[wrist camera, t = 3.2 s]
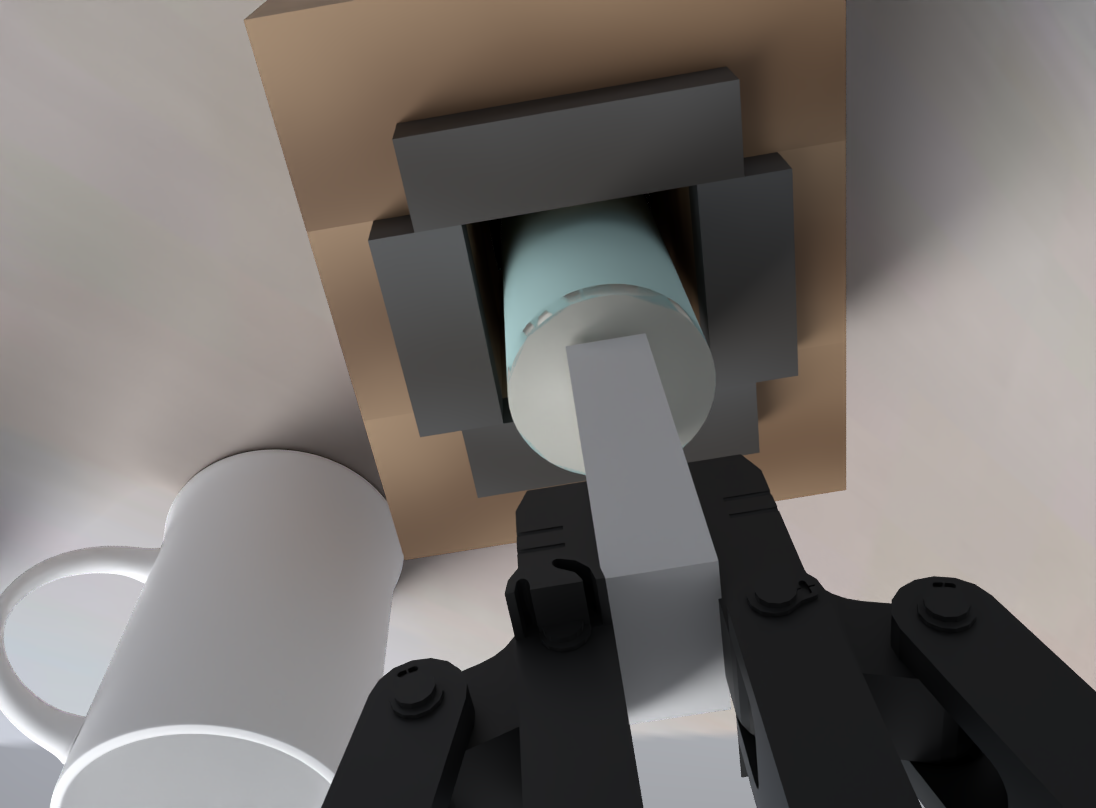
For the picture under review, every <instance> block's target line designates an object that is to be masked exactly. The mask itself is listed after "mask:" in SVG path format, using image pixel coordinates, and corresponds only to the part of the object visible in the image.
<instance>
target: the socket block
mask: <svg viewBox="0 0 1096 808" xmlns="http://www.w3.org/2000/svg"><path fill="white" fill-rule="evenodd" d="M244 23H245V26H246V30H247V33H248V36H249V40H250V43H251V46H252V50H253V53H254V56H255V60H256V63H257V67H258V70H259V73H260V77H261V80H262V83H263V87H264V90H265V93H266V97H267V100H268V103H269V107H270V110H271V113H272V117H273V120H274V124H275V127H276V130H277V134H278V137H279V140H280V144H281V147H282V150H283V154H284V157H285V160H286V164H287V167H288V170H289V174H290V177H291V181H292V184H293V187H294V191H295V194H296V197H297V201H298V204H299V207H300V211H301V214H302V217H303V221H304V224H305V228H306V231H307V234H308V238H309V241H310V244H311V248H312V251H313V254H314V258H315V261H316V264H317V268H318V271H319V274H320V278H321V281H322V285H323V288H324V291H325V295H326V298H327V301H328V305H329V308H330V311H331V315H332V318H333V321H334V325H335V328H336V331H337V335H338V338H339V342H340V345H341V348H342V352H343V355H344V358H345V362H346V365H347V368H348V372H349V375H350V378H351V382H352V385H353V389H354V392H355V395H356V399H357V402H358V405H359V409H360V412H361V415H362V419H363V422H364V425H365V429H366V432H367V435H368V439H369V442H370V446H371V449H372V452H373V456H374V459H375V462H376V466H377V469H378V472H379V476H380V479H381V482H382V486H383V489H384V492H385V496H386V499H387V503H388V506H389V509H390V513H391V516H392V519H393V523H394V526H395V529H396V533H397V536H398V539H399V543H400V546H401V550H402V553H403V556H404V560H409V559H416V558H422V557H428V556H434V555H441V554H447V553H453V552H460V551H466V550H472V549H478V548H485V547H491V546H497V545H503V544H510V543H516V542H517V533H516V513H515V512H516V510H517V508H518V506H519V504H520V503H521V501H522V499H523V497H524V495H525V494H526V492H527V491H528V490H534V489H541V488H547V487H553V486H559V485H565V484H572V483H578V482H584V481H587V480H586V475H583V474H579V473H574V472H571V471H568V470H565V469H563V468H560V467H558V466H556V465H554V464H552V463H550V462H549V461H547V460H546V459H544V458H543V457H541V456H540V455H539V454H538V453H537V452H535V451H534V450H533V449H532V448H531V447H530V446H529V445H528V444H527V442H526V441H525V440H524V439H523V437H522V436H521V434H520V433H519V431H518V430H517V428H516V425H515V423H514V421H513V419H512V415H511V412H510V408H509V402H508V390H507V367H506V344H505V320H504V297H503V274H502V270H500V271H498V267H497V262H496V257H495V252H494V247H493V242H492V237H491V232H490V227H489V222H488V220H493V219H499V218H504V217H510V216H516V215H522V214H528V213H534V212H540V211H546V210H552V209H557V208H563V207H569V206H575V205H581V204H587V203H593V202H599V201H605V200H611V199H616V198H622V197H628V196H634V195H640V194H646V193H649V195H650V204H651V213H652V216H653V218H654V220H655V223H656V225H657V227H658V230H659V232H660V234H661V237H662V239H663V241H664V244H665V246H666V248H667V251H668V253H669V255H670V258H671V260H672V262H673V265H674V267H675V269H676V272H677V274H678V276H679V279H680V281H681V283H682V286H683V288H684V290H685V293H686V295H687V297H688V300H689V302H690V304H691V307H692V309H693V311H694V314H695V316H696V318H697V321H698V323H699V325H700V328H701V330H702V332H703V335H704V337H705V339H706V342H707V344H708V346H709V349H710V351H711V354H712V358H713V361H714V366H715V372H716V387H715V394H714V399H713V403H712V406H711V409H710V411H709V414H708V416H707V418H706V420H705V422H704V423H703V425H702V426H701V428H700V430H699V431H698V432H697V433H696V435H695V436H694V437H693V438H692V440H691V441H690V442H689V443H688V444H686V445H685V446H684V447H683V448H682V449H683V452H684V455H685V458H686V461H687V463H689V462H695V461H701V460H707V459H714V458H720V457H726V456H732V455H738V454H741V455H743V456H744V457H745V458H747V459H748V460H749V461H750V462H752V463H753V464H754V465H756V466H757V467H758V468H759V469H761V470H762V473H763V475H764V477H765V480H766V482H767V484H768V487H769V489H770V493H771V494H772V496H773V498H774V501H779V500H786V499H792V498H798V497H804V496H811V495H817V494H823V493H829V492H836V491H842V490H846V0H267V1H266V2H265V3H263V4H262V5H261V6H260V7H259V8H258V9H256V10H255V11H254V12H253V13H252V14H250V15H249V16H248V17H247V18H246V19H244Z"/></svg>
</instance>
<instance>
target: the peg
mask: <svg viewBox="0 0 1096 808" xmlns="http://www.w3.org/2000/svg"><path fill="white" fill-rule="evenodd" d="M501 251H502V274H503V297H504V320H505V344H506V367H507V390H508V402H509V408H510V412H511V415H512V419H513V421H514V423H515V425H516V428H517V430H518V431H519V433H520V434H521V436H522V437H523V439H524V440H525V441H526V442H527V444H528V445H529V446H530V447H531V448H532V449H533V450H534V451H535V452H537V453H538V454H539V455H540V456H541V457H543V458H544V459H546V460H547V461H549V462H550V463H552V464H554V465H556V466H558V467H560V468H563V469H565V470H568V471H571V472H574V473H579V474H583V475H586V473H585V467H584V460H583V454H582V448H581V441H580V435H579V429H578V422H577V416H576V410H575V403H574V397H573V390H572V384H571V378H570V371H569V365H568V359H567V352H566V346H571V345H577V344H583V343H589V342H595V341H601V340H607V339H613V338H619V337H625V336H631V335H637V334H643V333H646V336H647V339H648V342H649V345H650V348H651V352H652V355H653V358H654V361H655V364H656V367H657V370H658V373H659V377H660V380H661V383H662V386H663V389H664V392H665V395H666V398H667V402H668V405H669V408H670V411H671V414H672V417H673V420H674V424H675V427H676V430H677V433H678V436H679V439H680V442H681V445H682V448H683V447H684V446H685V445H686V444H688V443H689V442H690V441H691V440H692V438H693V437H694V436H695V435H696V433H697V432H698V431H699V430H700V428H701V426H702V425H703V423H704V422H705V420H706V418H707V416H708V414H709V411H710V409H711V406H712V403H713V399H714V394H715V387H716V372H715V366H714V361H713V358H712V354H711V351H710V349H709V346H708V344H707V342H706V339H705V337H704V335H703V332H702V330H701V328H700V325H699V323H698V321H697V318H696V316H695V314H694V311H693V309H692V307H691V304H690V302H689V300H688V297H687V295H686V293H685V290H684V288H683V286H682V283H681V281H680V279H679V276H678V274H677V272H676V269H675V267H674V265H673V262H672V260H671V258H670V255H669V253H668V251H667V248H666V246H665V244H664V241H663V239H662V237H661V234H660V232H659V230H658V227H657V225H656V223H655V220H654V218H653V216H652V213H651V211H650V209H649V206H648V204H647V202H646V199H645V197H644V195H643V194H640V195H634V196H628V197H622V198H616V199H611V200H605V201H599V202H593V203H587V204H581V205H575V206H569V207H563V208H557V209H552V210H546V211H540V212H534V213H528V214H522V215H516V216H510V217H504V218H502V219H501Z"/></svg>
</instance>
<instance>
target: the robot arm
mask: <svg viewBox="0 0 1096 808" xmlns="http://www.w3.org/2000/svg"><path fill="white" fill-rule="evenodd" d="M566 352H567V359H568V365H569V371H570V378H571V384H572V390H573V397H574V403H575V410H576V416H577V422H578V429H579V435H580V441H581V448H582V454H583V460H584V467H585V473H586V480H587V481H584V482H578V483H572V484H565V485H559V486H553V487H547V488H541V489H534V490H528V491H527V492H526V494H525V495H524V497H523V499H522V501H521V503H520V504H519V506H518V508H517V510H516V512H515V513H516V533H517V552H518V555H517V557H518V569H517V570H516V571H515V573H514V574H513V575H512V576H511V577H510V579H509V580H508V583H507V587H506V591H505V597H506V601H507V605H508V610H509V614H510V618H511V622H512V627H513V631H514V635H515V636H514V638H513V639H512V640H511V641H510V642H509V644H508V645H507V646H506V647H505V648H504V649H503V650H501V651H500V652H499V653H498V654H496V655H495V656H494V657H492V658H490V659H488V660H486V661H484V662H482V663H480V664H478V665H476V666H473V667H471V668H469V669H466V670H464V671H462V672H461V670H460V669H459V668H457V667H456V666H454V665H453V664H451V663H450V662H448V661H444V660H438V659H433V658H428V659H420V660H412V661H410V662H407V663H405V664H403V665H400V666H398V667H395V668H393V669H392V670H391V671H390V672H388V673H387V674H386V675H385V676H383V677H382V678H381V679H380V680H378V682H377V683H376V685H375V686H374V688H373V689H372V691H371V692H370V694H369V696H368V698H367V701H366V703H365V705H364V708H363V710H362V712H361V715H360V717H359V719H358V722H357V724H356V726H355V729H354V731H353V733H352V736H351V738H350V741H349V743H348V745H347V748H346V750H345V752H344V755H343V757H342V759H341V762H340V764H339V766H338V769H337V771H336V773H335V776H334V778H333V781H332V783H331V785H330V788H329V790H328V792H327V795H326V797H325V799H324V802H323V804H322V806H321V808H643V803H642V796H641V790H640V785H639V778H638V772H637V766H636V760H635V754H634V748H633V742H632V736H631V730H630V725H631V724H637V723H644V722H650V721H657V720H663V719H670V718H676V717H683V716H690V715H696V714H703V713H709V712H716V711H722V710H729V709H731V699H730V694H731V698H732V701H733V705H734V708H735V712H736V718H737V730H738V742H739V754H740V766H741V777H746V776H748V777H749V781H750V785H751V788H752V792H753V795H754V799H755V803H756V806H757V808H922V807H921V805H920V802H921V803H922V804H923V806H924V807H925V808H1096V691H1095V690H1094V689H1092V688H1091V687H1090V686H1089V685H1088V684H1087V683H1086V682H1085V681H1084V680H1083V679H1082V678H1081V677H1079V676H1078V675H1077V674H1076V673H1075V672H1074V671H1073V670H1072V669H1071V668H1070V667H1069V666H1068V665H1066V664H1065V663H1064V662H1063V661H1062V660H1061V659H1060V658H1059V657H1058V656H1057V655H1056V654H1055V653H1053V652H1052V651H1051V650H1050V649H1049V648H1048V647H1047V646H1046V645H1045V644H1044V643H1043V642H1042V641H1040V640H1039V639H1038V638H1037V637H1036V636H1035V635H1034V634H1033V633H1032V632H1031V631H1030V630H1029V629H1028V628H1026V627H1025V626H1024V625H1023V624H1022V623H1021V622H1020V621H1019V620H1018V619H1017V618H1016V617H1015V616H1013V615H1012V614H1011V613H1010V612H1009V611H1008V610H1007V609H1006V608H1005V607H1004V606H1003V605H1002V604H1000V603H999V602H998V601H997V600H996V599H995V598H994V597H993V596H992V595H990V594H989V593H987V592H986V591H984V590H983V589H981V588H980V587H978V586H977V585H975V584H972V583H969V582H966V581H963V580H960V579H957V578H949V577H935V576H933V577H928V578H923V579H917V580H914V581H912V582H910V583H908V584H907V585H905V586H903V587H901V588H900V589H899V590H898V592H897V593H896V595H895V596H894V598H893V599H892V604H890V603H878V602H866V601H858V600H852V599H846V598H843V597H840V596H837V595H834V594H832V593H830V592H828V591H826V590H825V589H824V588H823V587H822V585H821V584H820V583H819V581H818V580H817V579H816V578H814V577H812V576H811V575H809V574H807V573H806V571H805V570H804V568H803V565H802V563H801V561H800V559H799V556H798V554H797V552H796V549H795V547H794V545H793V542H792V540H791V538H790V535H789V533H788V531H787V528H786V526H785V524H784V521H783V519H782V517H781V514H780V512H779V511H778V509H777V505H776V503H775V501H774V498H773V496H772V494H771V493H770V489H769V487H768V484H767V482H766V480H765V477H764V475H763V473H762V470H761V469H759V468H758V467H757V466H756V465H754V464H753V463H752V462H750V461H749V460H748V459H747V458H745V457H744V456H743V455H741V454H738V455H732V456H726V457H720V458H714V459H707V460H701V461H695V462H689V463H687V461H686V458H685V455H684V452H683V449H682V445H681V442H680V439H679V436H678V433H677V430H676V427H675V424H674V420H673V417H672V414H671V411H670V408H669V405H668V402H667V398H666V395H665V392H664V389H663V386H662V383H661V380H660V377H659V373H658V370H657V367H656V364H655V361H654V358H653V355H652V352H651V348H650V345H649V342H648V339H647V336H646V333H643V334H637V335H631V336H625V337H619V338H613V339H607V340H601V341H595V342H589V343H583V344H577V345H571V346H566ZM918 799H919V800H920V802H919V800H918Z"/></svg>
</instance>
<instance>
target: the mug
mask: <svg viewBox="0 0 1096 808" xmlns="http://www.w3.org/2000/svg"><path fill="white" fill-rule="evenodd" d="M403 560H404V556H403V553H402V550H401V546H400V543H399V539H398V536H397V533H396V529H395V526H394V523H393V519H392V516H391V513H390V509H389V506H388V503H387V501H386V500H385V498H384V497H383V496H382V495H381V494H380V493H379V491H378V490H377V489H376V488H375V487H374V486H372V485H371V484H370V483H369V482H368V481H367V480H365V479H364V478H363V477H361V476H360V475H358V474H357V473H355V472H354V471H352V470H350V469H349V468H347V467H345V466H343V465H341V464H339V463H337V462H334V461H332V460H329V459H327V458H324V457H321V456H317V455H314V454H310V453H305V452H300V451H292V450H275V449H274V450H258V451H251V452H245V453H241V454H237V455H234V456H230V457H228V458H225V459H222V460H220V461H218V462H216V463H214V464H212V465H210V466H208V467H206V468H205V469H203V470H202V471H200V472H199V473H198V474H196V475H195V476H194V477H193V478H192V479H191V480H190V481H188V483H187V484H186V485H185V486H184V487H183V488H182V489H181V491H180V492H179V493H178V495H177V496H176V498H175V500H174V501H173V503H172V505H171V508H170V510H169V513H168V516H167V519H166V524H165V530H164V540H163V543H162V545H161V548H139V547H128V546H100V547H90V548H84V549H78V550H74V551H70V552H66V553H63V554H60V555H57V556H54V557H51V558H49V559H47V560H44V561H42V562H40V563H38V564H37V565H35V566H33V567H32V568H30V569H28V570H27V571H25V572H24V573H23V574H21V575H20V576H19V577H18V578H16V579H15V580H14V581H13V582H12V583H11V584H10V585H9V586H8V587H7V588H6V589H5V591H4V592H3V593H2V594H1V596H0V709H1V711H2V712H3V713H4V715H5V716H6V717H7V718H8V719H9V720H10V722H11V723H12V724H13V725H14V726H15V727H16V728H18V729H19V730H20V731H21V732H22V733H23V734H25V735H26V736H27V737H28V738H30V739H31V740H32V741H34V742H35V743H37V744H38V745H40V746H41V747H43V748H45V749H46V750H48V751H49V752H51V753H52V754H54V755H55V756H56V757H57V758H58V759H59V760H60V761H61V762H62V763H63V764H65V765H64V767H63V769H62V772H61V774H60V777H59V779H58V781H57V783H56V786H55V789H54V791H53V795H52V799H51V804H50V808H321V806H322V804H323V802H324V799H325V797H326V795H327V792H328V790H329V788H330V785H331V783H332V781H333V778H334V776H335V773H336V771H337V769H338V766H339V764H340V762H341V759H342V757H343V755H344V752H345V750H346V748H347V745H348V743H349V741H350V738H351V736H352V733H353V731H354V729H355V726H356V724H357V722H358V719H359V717H360V715H361V712H362V710H363V708H364V705H365V703H366V701H367V698H368V696H369V694H370V692H371V691H372V689H373V688H374V686H375V685H376V683H377V682H378V680H380V679H381V678H382V677H383V672H384V663H385V655H386V646H387V638H388V629H389V621H390V612H391V605H392V597H393V591H394V588H395V586H396V584H397V582H398V580H399V577H400V574H401V570H402V566H403ZM88 573H111V574H119V575H124V576H128V577H131V578H134V579H136V580H139V581H141V582H143V583H145V585H144V587H143V589H142V591H141V594H140V596H139V598H138V600H137V603H136V605H135V607H134V609H133V612H132V614H131V616H130V618H129V621H128V623H127V625H126V627H125V630H124V632H123V634H122V636H121V639H120V641H119V643H118V645H117V648H116V650H115V652H114V654H113V657H112V659H111V661H110V663H109V666H108V668H107V670H106V672H105V675H104V677H103V679H102V681H101V684H100V686H99V688H98V690H97V693H96V695H95V697H94V699H93V702H92V704H91V706H90V708H89V711H88V713H87V715H86V717H84V716H79V715H75V714H72V713H68V712H65V711H62V710H60V709H57V708H55V707H53V706H51V705H49V704H48V703H46V702H45V701H43V700H42V699H40V698H39V697H38V696H36V695H35V694H34V693H33V692H32V691H31V690H29V689H28V688H27V687H26V686H25V685H24V683H23V682H22V681H21V680H20V679H19V677H18V676H17V675H16V673H15V672H14V670H13V668H12V666H11V665H10V662H9V660H8V658H7V655H6V651H5V646H4V628H5V624H6V621H7V619H8V617H9V615H10V613H11V611H12V610H13V609H14V607H15V606H16V605H17V604H18V603H19V602H20V601H21V600H22V599H23V598H24V597H25V596H27V595H28V594H29V593H31V592H32V591H34V590H35V589H37V588H39V587H41V586H43V585H45V584H47V583H49V582H52V581H55V580H58V579H61V578H64V577H68V576H73V575H79V574H88Z"/></svg>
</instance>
